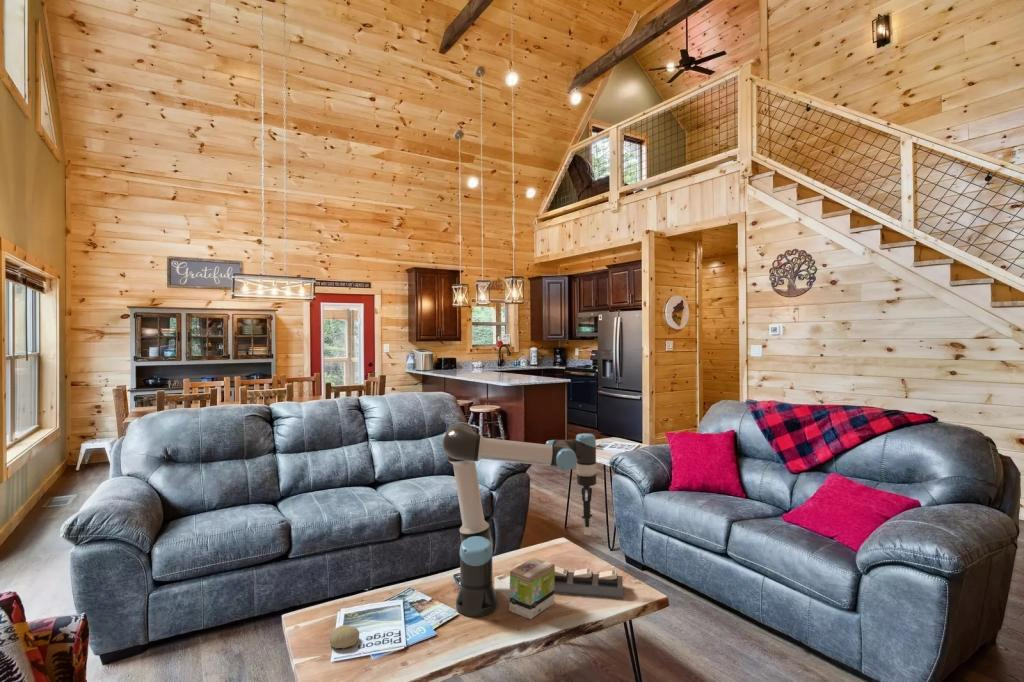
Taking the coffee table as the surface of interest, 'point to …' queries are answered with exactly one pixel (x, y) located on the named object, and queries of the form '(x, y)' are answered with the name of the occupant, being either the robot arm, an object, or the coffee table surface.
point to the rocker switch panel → (589, 586)
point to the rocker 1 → (560, 571)
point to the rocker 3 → (608, 575)
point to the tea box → (532, 587)
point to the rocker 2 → (583, 573)
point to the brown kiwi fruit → (344, 636)
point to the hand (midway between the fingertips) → (587, 534)
